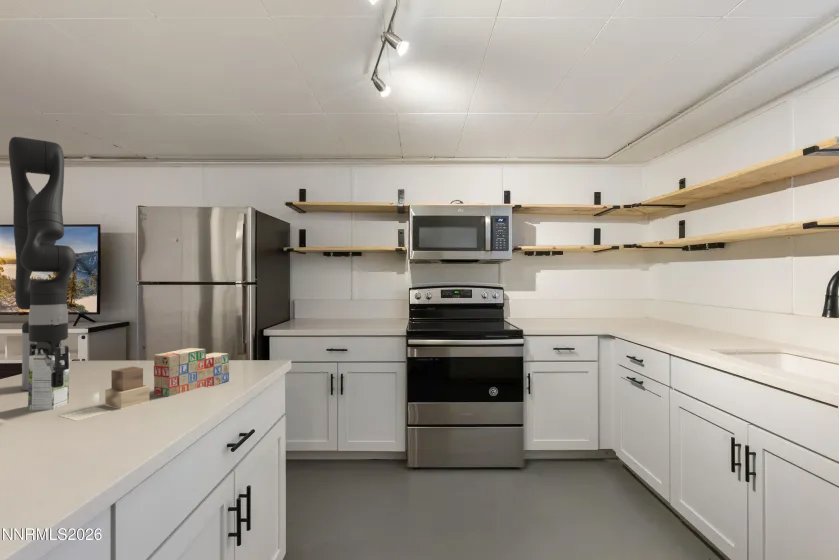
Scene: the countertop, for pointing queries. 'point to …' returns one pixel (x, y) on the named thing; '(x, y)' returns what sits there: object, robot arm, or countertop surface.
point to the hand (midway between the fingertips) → (48, 385)
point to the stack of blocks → (188, 370)
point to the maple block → (126, 397)
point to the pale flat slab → (88, 413)
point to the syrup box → (45, 385)
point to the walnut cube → (127, 378)
